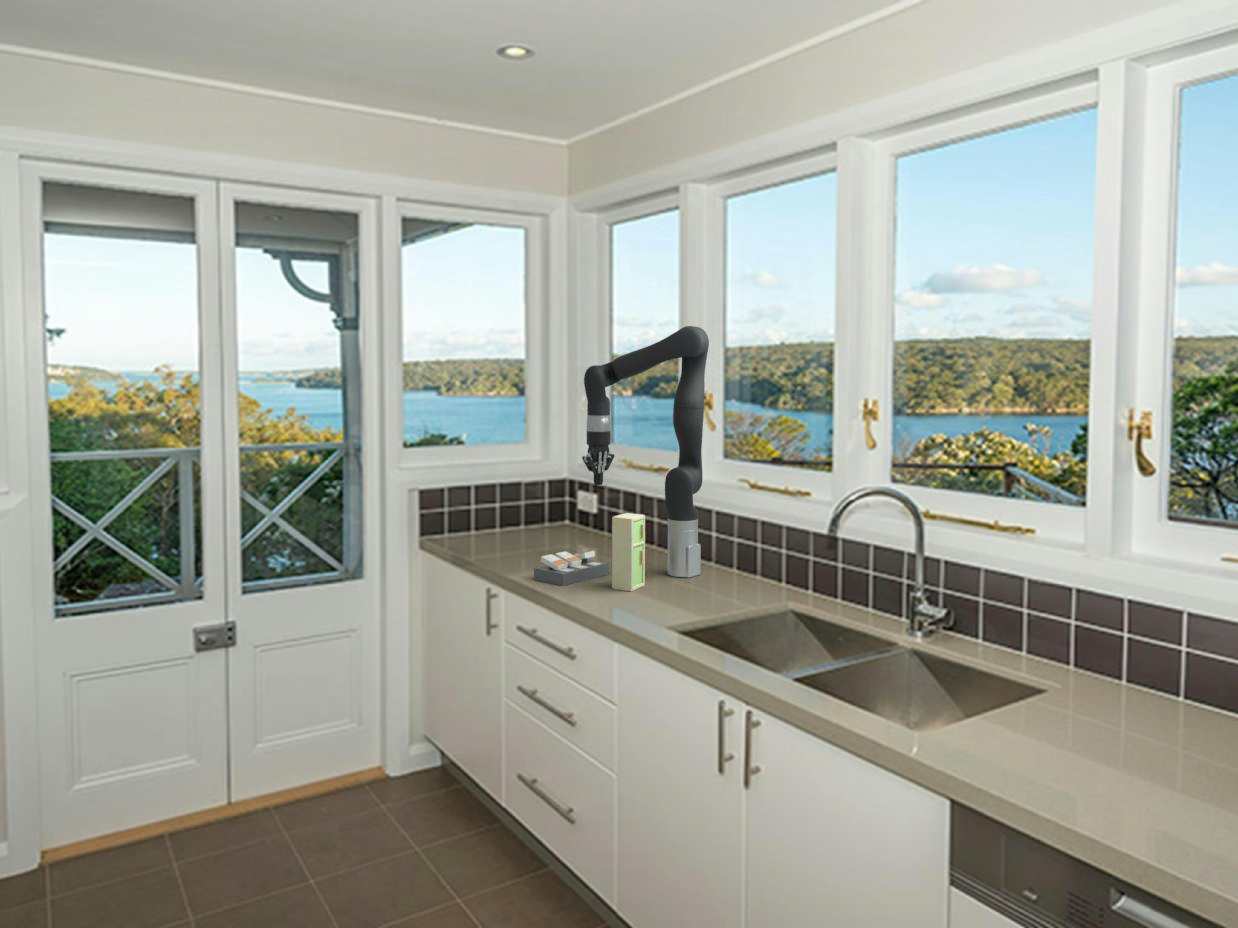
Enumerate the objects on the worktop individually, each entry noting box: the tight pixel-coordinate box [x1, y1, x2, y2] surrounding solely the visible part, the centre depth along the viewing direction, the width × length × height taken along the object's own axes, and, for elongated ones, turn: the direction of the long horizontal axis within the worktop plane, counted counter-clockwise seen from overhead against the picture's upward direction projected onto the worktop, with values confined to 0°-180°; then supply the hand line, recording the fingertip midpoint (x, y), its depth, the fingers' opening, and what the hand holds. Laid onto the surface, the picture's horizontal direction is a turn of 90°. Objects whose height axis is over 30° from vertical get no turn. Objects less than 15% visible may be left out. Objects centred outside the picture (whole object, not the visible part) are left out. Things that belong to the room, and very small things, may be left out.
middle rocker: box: [554, 551, 582, 567], centre depth 284 cm, size 7×4×2 cm, turn 50°
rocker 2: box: [573, 550, 596, 559], centre depth 289 cm, size 7×4×2 cm, turn 49°
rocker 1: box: [540, 553, 568, 570], centre depth 280 cm, size 7×4×2 cm, turn 50°
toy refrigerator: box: [611, 512, 646, 592], centre depth 269 cm, size 8×7×21 cm
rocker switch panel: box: [533, 558, 610, 587], centre depth 285 cm, size 12×24×4 cm, turn 139°
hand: (598, 484), depth 295 cm, fingers closed
